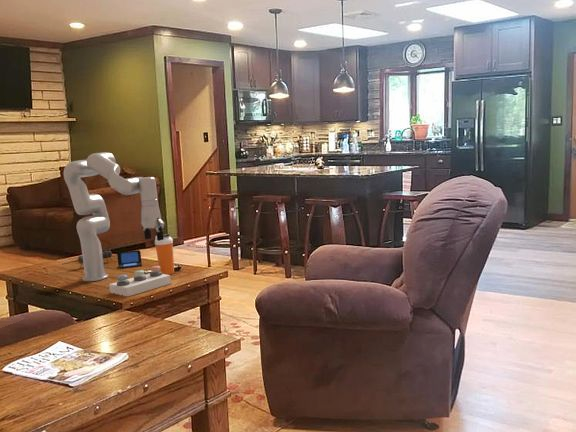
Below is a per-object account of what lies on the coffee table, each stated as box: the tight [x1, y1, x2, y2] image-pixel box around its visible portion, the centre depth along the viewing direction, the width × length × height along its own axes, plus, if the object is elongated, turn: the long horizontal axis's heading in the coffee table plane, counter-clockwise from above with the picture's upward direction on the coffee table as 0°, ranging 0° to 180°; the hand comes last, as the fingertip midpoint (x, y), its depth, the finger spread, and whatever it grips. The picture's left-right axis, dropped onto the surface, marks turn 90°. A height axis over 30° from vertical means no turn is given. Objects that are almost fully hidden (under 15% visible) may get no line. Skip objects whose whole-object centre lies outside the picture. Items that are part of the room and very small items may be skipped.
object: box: [116, 249, 143, 270], centre depth 332 cm, size 12×11×7 cm
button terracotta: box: [150, 265, 160, 272], centre depth 287 cm, size 4×4×2 cm
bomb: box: [63, 245, 115, 268], centre depth 338 cm, size 11×10×30 cm
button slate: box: [117, 274, 129, 282], centre depth 274 cm, size 4×4×2 cm
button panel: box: [108, 270, 172, 297], centre depth 281 cm, size 14×24×5 cm, turn 138°
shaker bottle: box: [154, 233, 175, 276], centre depth 305 cm, size 9×9×20 cm
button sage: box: [134, 269, 145, 277], centre depth 280 cm, size 4×4×2 cm
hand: (154, 239), depth 286 cm, fingers open, 9 cm apart
